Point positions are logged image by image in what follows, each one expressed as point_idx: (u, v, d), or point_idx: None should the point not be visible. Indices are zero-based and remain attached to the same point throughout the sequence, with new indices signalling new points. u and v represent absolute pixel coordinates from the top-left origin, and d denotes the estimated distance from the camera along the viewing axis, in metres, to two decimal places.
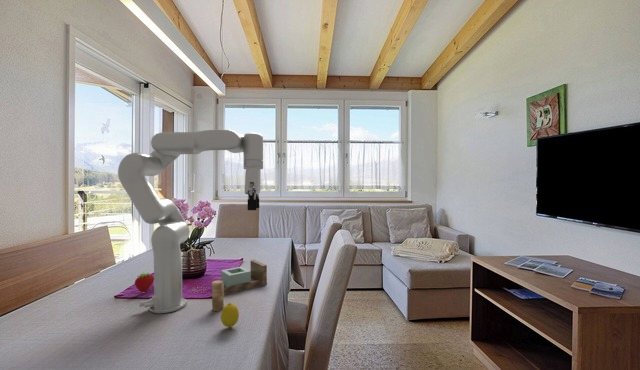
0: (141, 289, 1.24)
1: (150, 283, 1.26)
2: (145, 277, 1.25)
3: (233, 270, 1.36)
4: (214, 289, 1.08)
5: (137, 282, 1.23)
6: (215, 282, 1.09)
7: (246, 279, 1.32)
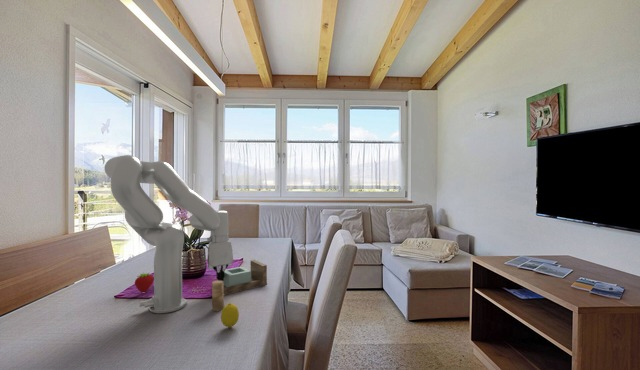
0: (141, 289, 1.24)
1: (150, 283, 1.26)
2: (145, 277, 1.25)
3: (233, 270, 1.36)
4: (214, 289, 1.08)
5: (137, 282, 1.23)
6: (215, 282, 1.09)
7: (246, 279, 1.32)
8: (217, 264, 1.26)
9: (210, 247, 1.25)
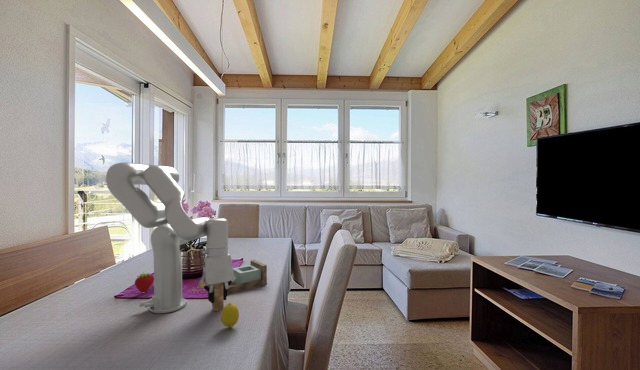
0: (141, 289, 1.24)
1: (150, 283, 1.26)
2: (145, 277, 1.25)
3: (243, 268, 1.39)
4: (214, 289, 1.08)
5: (137, 282, 1.23)
6: None
7: (256, 277, 1.35)
8: (214, 282, 1.06)
9: (206, 262, 1.06)
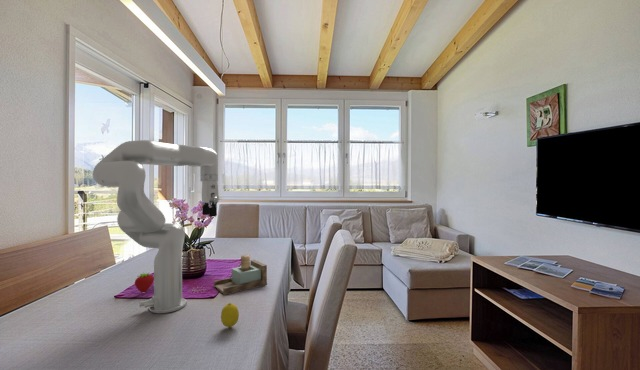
0: (141, 289, 1.24)
1: (150, 283, 1.26)
2: (145, 277, 1.25)
3: None
4: (249, 260, 1.36)
5: (137, 282, 1.23)
6: (245, 256, 1.36)
7: (256, 277, 1.35)
8: None
9: (215, 184, 1.33)
